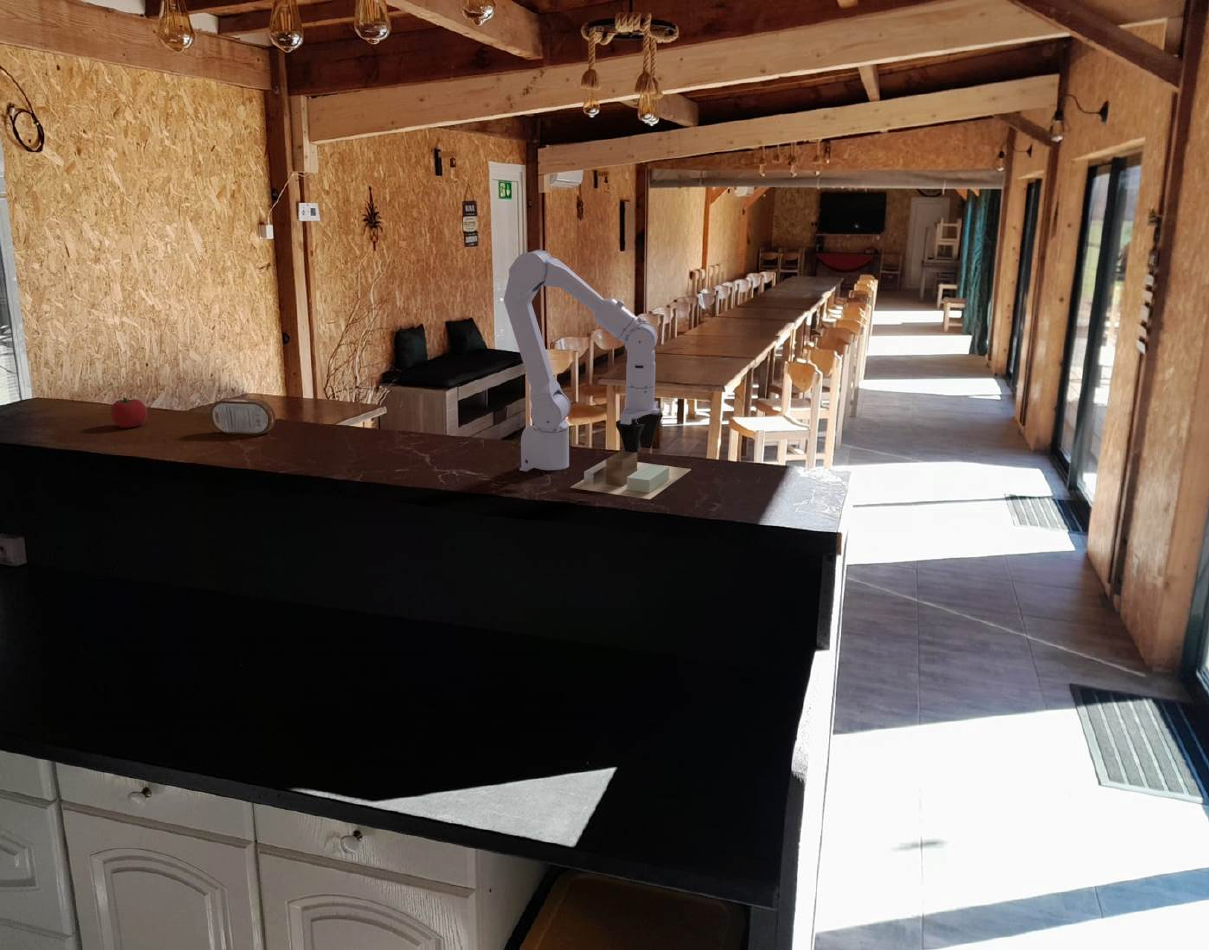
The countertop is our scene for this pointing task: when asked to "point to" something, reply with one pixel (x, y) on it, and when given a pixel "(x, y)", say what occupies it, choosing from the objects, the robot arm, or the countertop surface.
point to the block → (620, 468)
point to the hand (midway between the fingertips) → (638, 451)
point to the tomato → (128, 413)
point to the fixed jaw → (595, 474)
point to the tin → (242, 416)
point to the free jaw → (647, 478)
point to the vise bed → (603, 487)
